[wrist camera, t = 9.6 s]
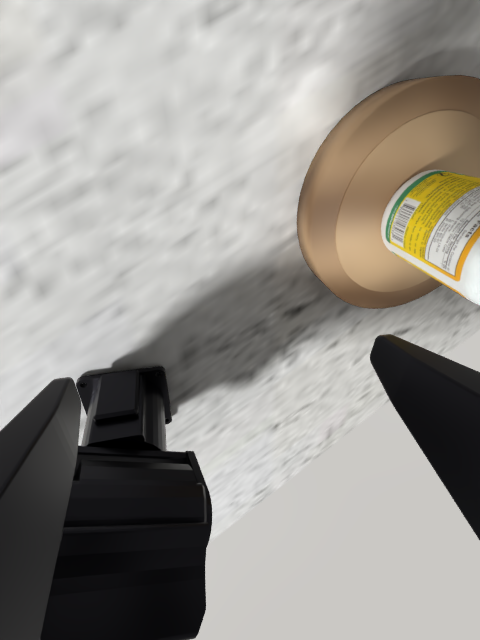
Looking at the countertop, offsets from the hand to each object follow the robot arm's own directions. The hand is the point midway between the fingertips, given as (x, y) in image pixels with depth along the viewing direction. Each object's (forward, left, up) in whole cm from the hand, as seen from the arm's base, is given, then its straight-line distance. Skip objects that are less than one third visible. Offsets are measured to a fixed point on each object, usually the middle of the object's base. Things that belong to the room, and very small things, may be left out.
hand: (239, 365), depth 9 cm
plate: (+1, -14, -13) cm, 19 cm away
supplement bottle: (+1, -14, -10) cm, 17 cm away
